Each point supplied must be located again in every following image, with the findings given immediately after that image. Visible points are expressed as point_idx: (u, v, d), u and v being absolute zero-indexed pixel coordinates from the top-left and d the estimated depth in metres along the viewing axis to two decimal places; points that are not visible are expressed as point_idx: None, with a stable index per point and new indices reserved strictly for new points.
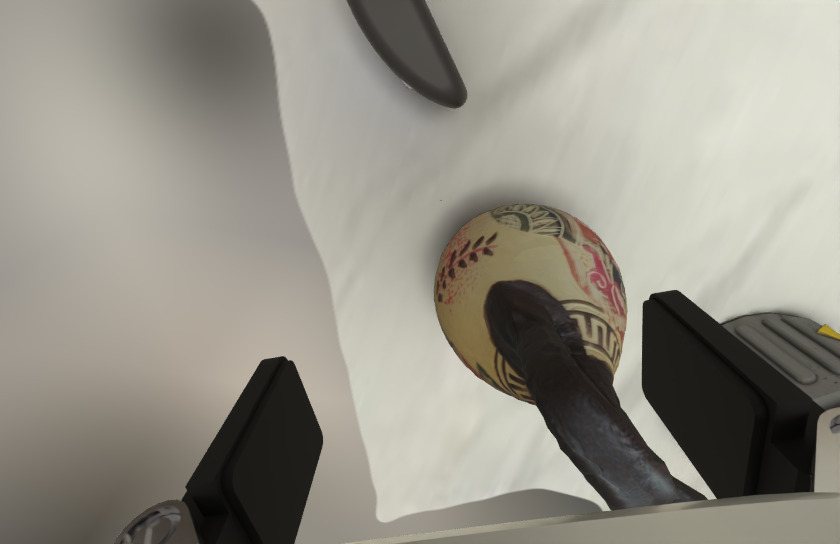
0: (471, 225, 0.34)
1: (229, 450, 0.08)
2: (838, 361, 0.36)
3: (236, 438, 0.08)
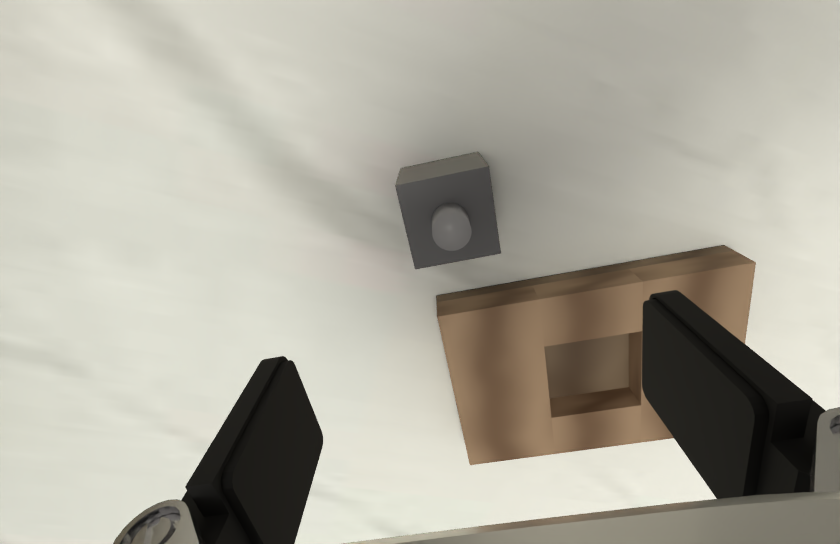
0: None
1: (229, 449, 0.08)
2: None
3: (236, 438, 0.08)
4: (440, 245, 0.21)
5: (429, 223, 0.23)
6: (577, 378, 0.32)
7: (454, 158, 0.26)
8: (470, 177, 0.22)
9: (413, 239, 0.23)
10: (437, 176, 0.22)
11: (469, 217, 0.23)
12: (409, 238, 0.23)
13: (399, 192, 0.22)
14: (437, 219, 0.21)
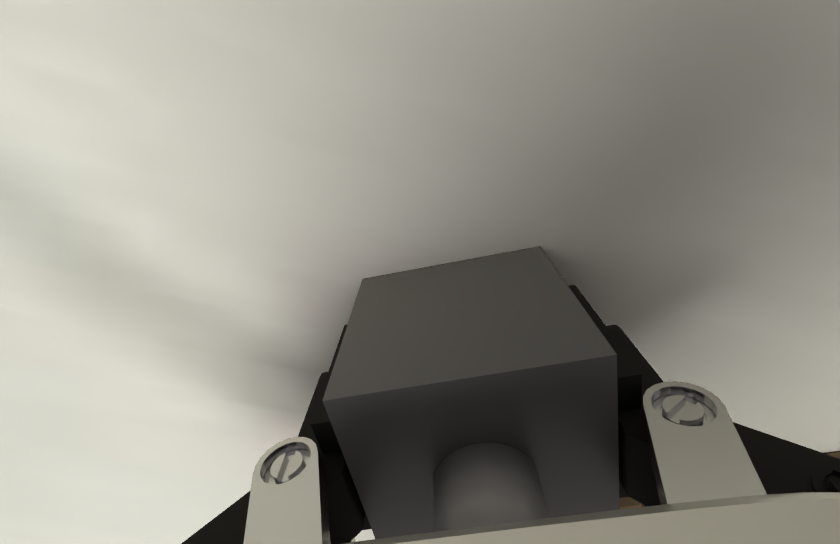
0: None
1: None
2: None
3: None
4: None
5: (426, 487, 0.08)
6: None
7: (486, 266, 0.11)
8: (553, 383, 0.07)
9: (383, 519, 0.08)
10: (451, 376, 0.07)
11: (542, 476, 0.08)
12: (371, 516, 0.08)
13: (336, 417, 0.07)
14: None
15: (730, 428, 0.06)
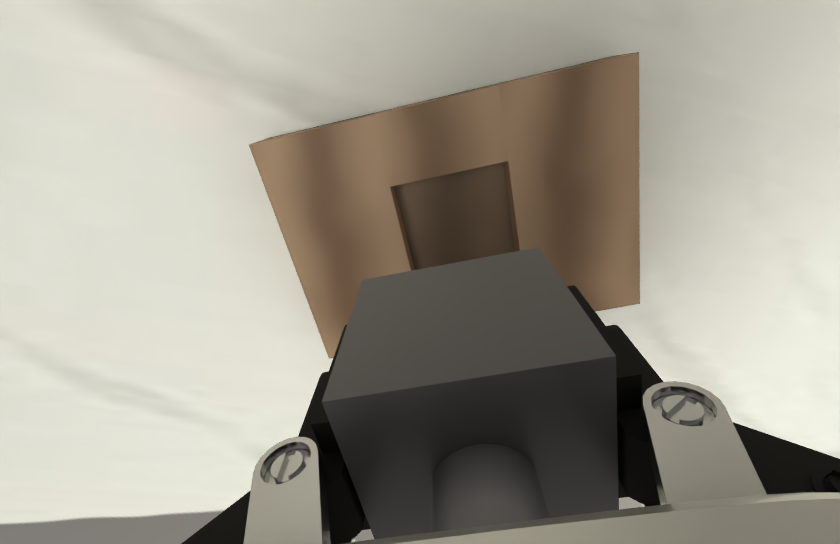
0: None
1: None
2: None
3: None
4: None
5: (425, 489, 0.08)
6: (451, 246, 0.26)
7: (486, 267, 0.11)
8: (552, 384, 0.07)
9: (382, 520, 0.08)
10: (451, 377, 0.07)
11: (541, 477, 0.08)
12: (370, 517, 0.08)
13: (335, 419, 0.07)
14: None
15: (729, 428, 0.06)
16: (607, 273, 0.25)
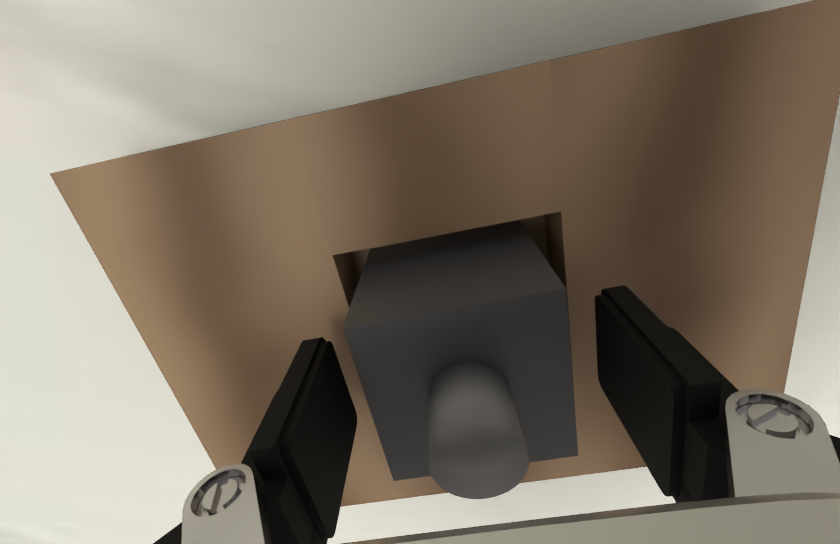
0: None
1: (286, 419, 0.08)
2: None
3: (290, 409, 0.09)
4: (449, 488, 0.09)
5: (422, 402, 0.10)
6: None
7: (473, 236, 0.13)
8: (519, 312, 0.09)
9: (388, 430, 0.11)
10: (441, 308, 0.09)
11: (513, 391, 0.10)
12: (379, 428, 0.11)
13: (352, 341, 0.10)
14: (442, 436, 0.08)
15: (827, 446, 0.06)
16: None
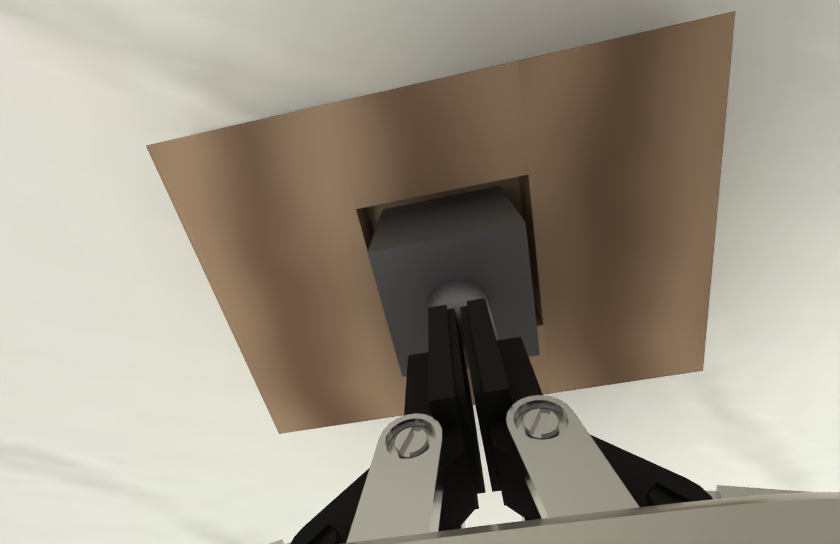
0: None
1: (452, 373, 0.09)
2: None
3: (451, 365, 0.09)
4: None
5: (424, 311, 0.14)
6: None
7: (463, 197, 0.17)
8: (493, 240, 0.13)
9: (399, 334, 0.14)
10: (438, 238, 0.13)
11: (490, 302, 0.14)
12: (392, 332, 0.14)
13: (374, 263, 0.13)
14: None
15: (581, 429, 0.07)
16: (661, 331, 0.18)
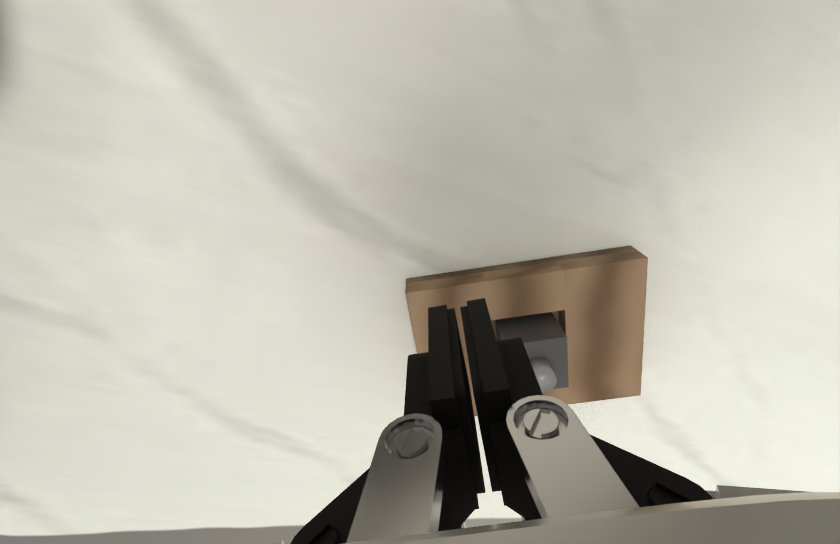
0: None
1: (452, 373, 0.09)
2: None
3: (451, 365, 0.09)
4: None
5: None
6: None
7: None
8: (554, 342, 0.33)
9: None
10: (532, 340, 0.33)
11: (550, 365, 0.34)
12: None
13: None
14: (535, 374, 0.32)
15: (581, 430, 0.07)
16: (620, 376, 0.38)
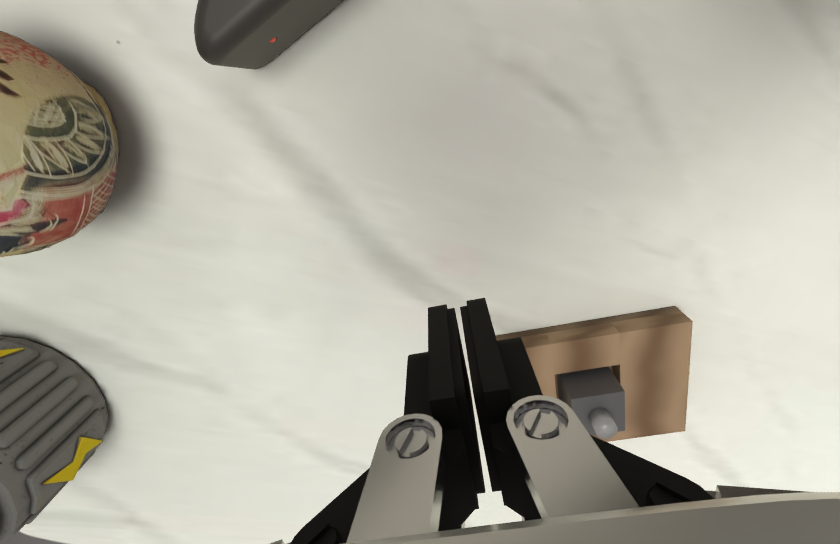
0: (47, 70, 0.27)
1: (452, 373, 0.09)
2: (34, 458, 0.39)
3: (451, 365, 0.09)
4: (599, 436, 0.39)
5: (586, 416, 0.40)
6: None
7: None
8: (613, 396, 0.39)
9: None
10: (594, 394, 0.39)
11: (610, 414, 0.40)
12: None
13: (572, 402, 0.40)
14: (599, 424, 0.38)
15: (581, 430, 0.07)
16: (667, 416, 0.44)
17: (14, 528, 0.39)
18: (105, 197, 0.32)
